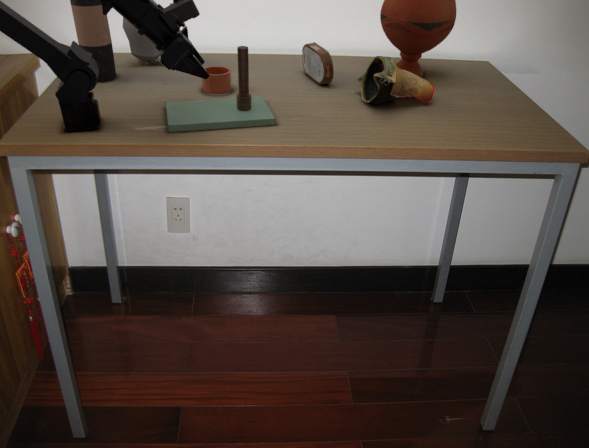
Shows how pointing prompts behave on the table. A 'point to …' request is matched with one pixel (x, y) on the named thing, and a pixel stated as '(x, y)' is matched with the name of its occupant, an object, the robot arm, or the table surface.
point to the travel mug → (94, 35)
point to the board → (216, 114)
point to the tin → (317, 63)
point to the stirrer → (243, 80)
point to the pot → (392, 83)
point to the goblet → (416, 27)
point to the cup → (217, 80)
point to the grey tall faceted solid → (140, 43)
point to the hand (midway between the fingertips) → (205, 70)
